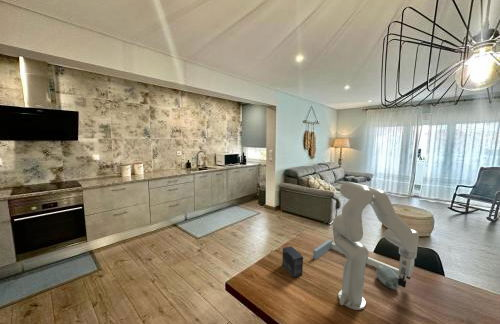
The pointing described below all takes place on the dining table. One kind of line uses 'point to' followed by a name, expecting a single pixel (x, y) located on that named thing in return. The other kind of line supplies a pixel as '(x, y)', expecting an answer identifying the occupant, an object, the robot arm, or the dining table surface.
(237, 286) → the dining table surface
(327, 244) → the fence
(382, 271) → the grey rock
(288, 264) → the small box
